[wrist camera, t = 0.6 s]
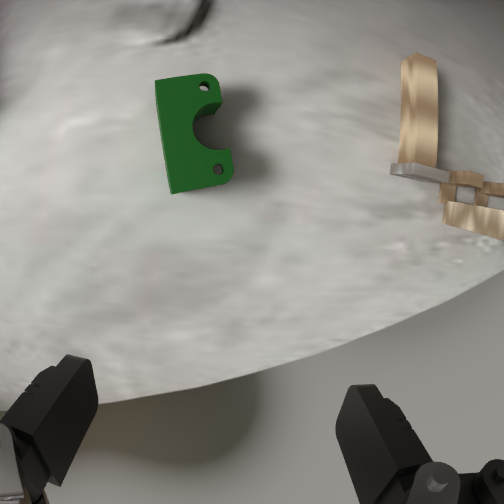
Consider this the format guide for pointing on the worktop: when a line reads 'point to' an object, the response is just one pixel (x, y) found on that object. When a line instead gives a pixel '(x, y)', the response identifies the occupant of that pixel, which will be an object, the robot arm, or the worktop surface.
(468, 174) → the post block
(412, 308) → the worktop surface
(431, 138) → the light wooden bar
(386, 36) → the worktop surface
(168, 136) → the clamp
